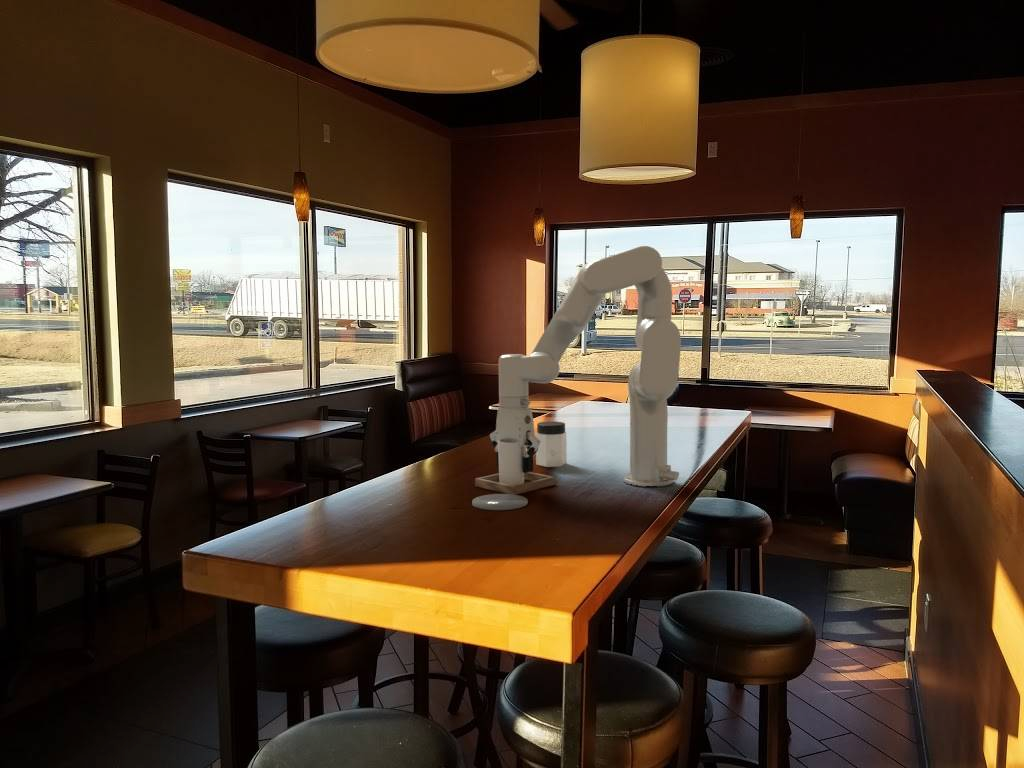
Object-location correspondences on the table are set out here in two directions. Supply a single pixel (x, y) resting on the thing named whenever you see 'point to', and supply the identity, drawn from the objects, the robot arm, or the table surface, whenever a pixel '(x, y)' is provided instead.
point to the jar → (551, 444)
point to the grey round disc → (499, 502)
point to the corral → (536, 483)
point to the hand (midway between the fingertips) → (514, 469)
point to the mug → (510, 463)
